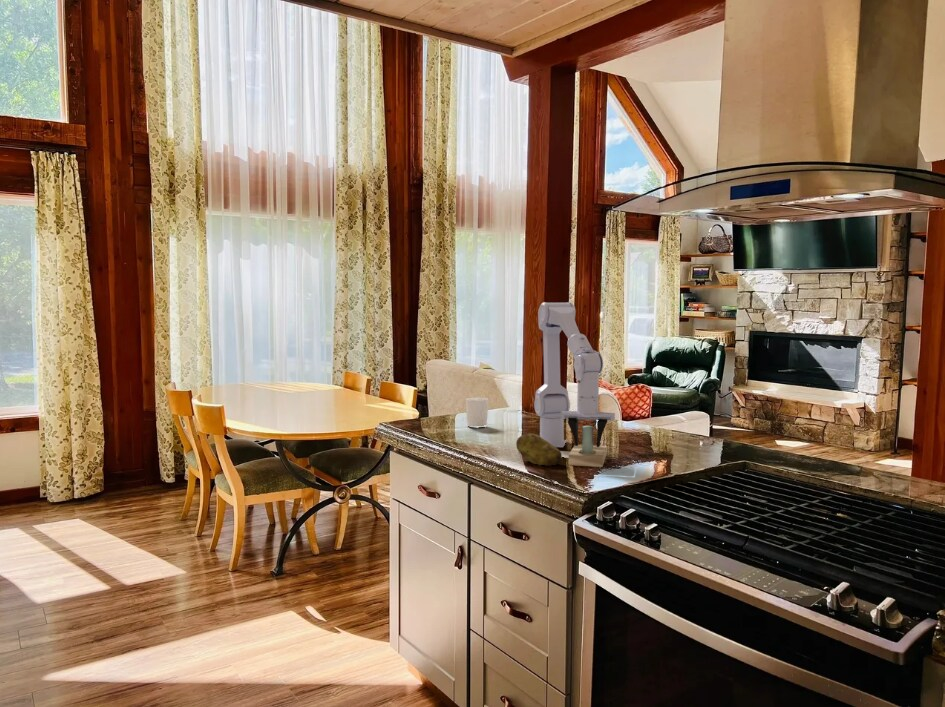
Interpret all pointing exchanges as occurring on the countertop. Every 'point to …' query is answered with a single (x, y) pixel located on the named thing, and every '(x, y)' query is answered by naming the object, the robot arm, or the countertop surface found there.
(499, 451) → the countertop surface
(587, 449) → the peg
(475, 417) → the white cup
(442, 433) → the countertop surface
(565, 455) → the mat
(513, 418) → the countertop surface
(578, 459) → the socket block
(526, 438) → the potato
